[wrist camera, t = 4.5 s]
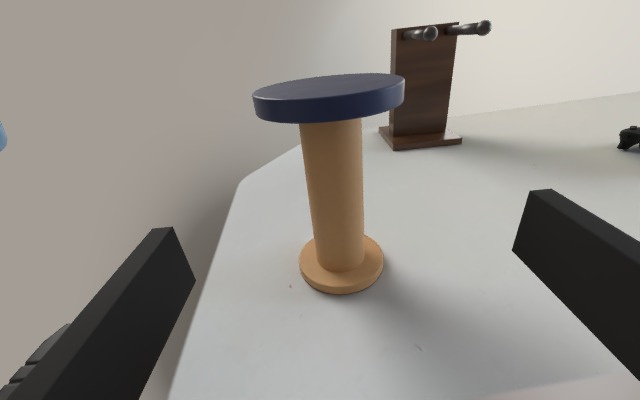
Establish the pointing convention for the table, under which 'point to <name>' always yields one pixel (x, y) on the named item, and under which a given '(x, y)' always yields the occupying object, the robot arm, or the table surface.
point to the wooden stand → (425, 83)
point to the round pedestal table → (334, 169)
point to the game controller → (629, 137)
